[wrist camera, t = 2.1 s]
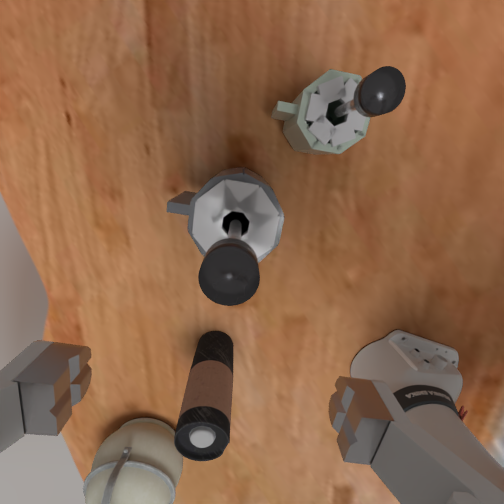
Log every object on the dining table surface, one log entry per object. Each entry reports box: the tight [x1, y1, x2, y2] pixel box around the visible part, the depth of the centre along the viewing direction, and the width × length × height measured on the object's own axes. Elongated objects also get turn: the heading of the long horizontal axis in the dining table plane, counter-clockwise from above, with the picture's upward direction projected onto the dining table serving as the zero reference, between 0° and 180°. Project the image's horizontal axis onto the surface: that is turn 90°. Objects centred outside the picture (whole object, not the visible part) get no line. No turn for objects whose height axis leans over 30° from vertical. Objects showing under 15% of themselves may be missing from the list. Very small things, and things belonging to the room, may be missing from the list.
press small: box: [271, 69, 370, 155], centre depth 36 cm, size 10×8×14 cm
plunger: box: [199, 220, 260, 306], centre depth 22 cm, size 4×4×13 cm
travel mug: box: [174, 331, 233, 461], centre depth 46 cm, size 8×8×20 cm
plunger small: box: [334, 66, 406, 117], centre depth 24 cm, size 3×3×10 cm
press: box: [167, 167, 284, 263], centre depth 37 cm, size 13×11×18 cm
